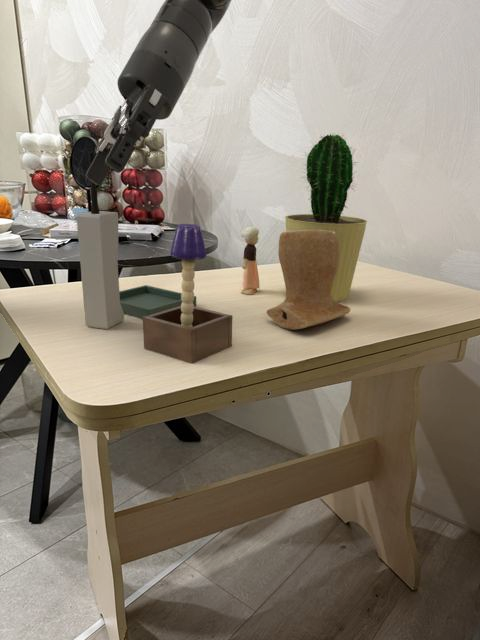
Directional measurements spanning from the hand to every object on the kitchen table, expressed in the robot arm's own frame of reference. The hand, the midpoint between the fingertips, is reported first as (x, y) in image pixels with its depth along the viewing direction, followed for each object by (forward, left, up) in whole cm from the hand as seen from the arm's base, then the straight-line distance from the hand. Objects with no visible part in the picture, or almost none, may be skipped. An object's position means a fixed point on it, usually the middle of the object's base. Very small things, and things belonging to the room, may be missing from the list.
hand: (102, 175), depth 65 cm
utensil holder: (-7, +5, -22) cm, 24 cm away
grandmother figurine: (-3, +37, -22) cm, 44 cm away
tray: (-10, +16, -22) cm, 29 cm away
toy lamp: (+9, +5, -22) cm, 25 cm away
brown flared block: (+15, +27, -22) cm, 39 cm away
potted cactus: (+9, +44, -22) cm, 51 cm away
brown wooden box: (+9, +5, -22) cm, 25 cm away
